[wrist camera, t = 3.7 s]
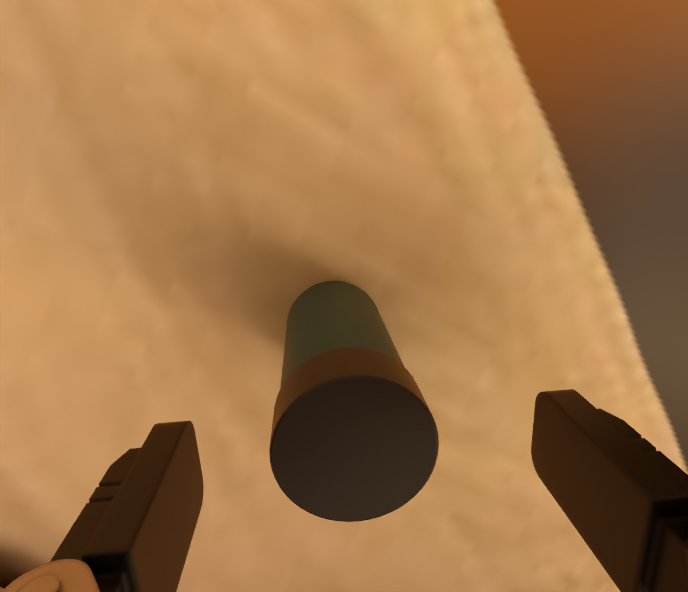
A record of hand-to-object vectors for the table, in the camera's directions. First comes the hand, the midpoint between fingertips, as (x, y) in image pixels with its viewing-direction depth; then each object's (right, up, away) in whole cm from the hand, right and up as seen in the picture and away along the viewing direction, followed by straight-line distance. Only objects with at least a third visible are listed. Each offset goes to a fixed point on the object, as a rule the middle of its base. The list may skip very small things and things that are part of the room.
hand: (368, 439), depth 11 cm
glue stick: (-1, +2, +7) cm, 8 cm away
